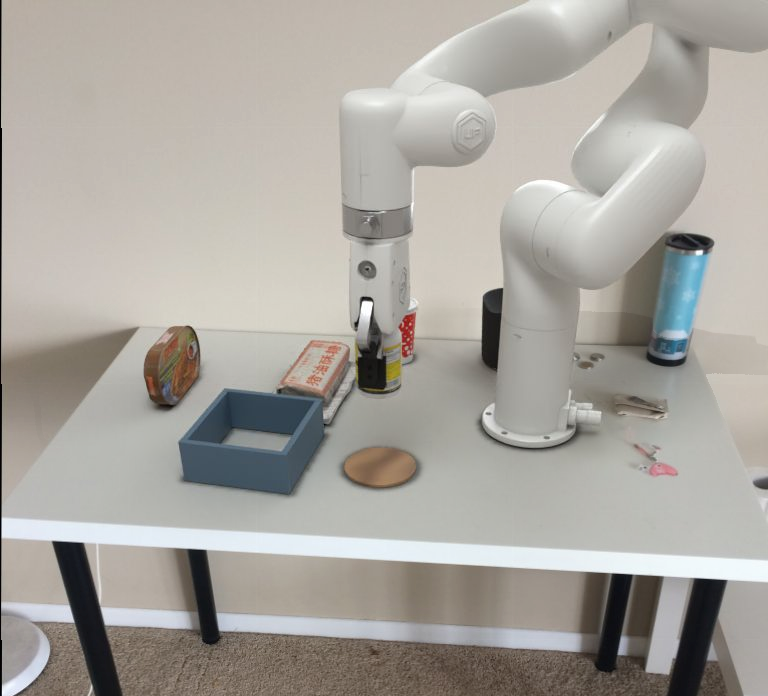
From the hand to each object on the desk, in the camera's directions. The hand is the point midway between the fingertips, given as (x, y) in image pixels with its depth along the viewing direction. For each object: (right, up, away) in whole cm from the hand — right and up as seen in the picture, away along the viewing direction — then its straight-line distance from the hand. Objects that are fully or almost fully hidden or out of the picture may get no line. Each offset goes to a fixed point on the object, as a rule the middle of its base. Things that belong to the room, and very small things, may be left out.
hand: (378, 374), depth 102 cm
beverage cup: (+3, +8, +34) cm, 35 cm away
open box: (-16, -9, +10) cm, 21 cm away
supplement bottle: (0, -2, +1) cm, 2 cm away
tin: (-30, +1, +25) cm, 39 cm away
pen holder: (+20, +7, +33) cm, 39 cm away
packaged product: (-10, +1, +24) cm, 26 cm away
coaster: (0, -11, +7) cm, 13 cm away
